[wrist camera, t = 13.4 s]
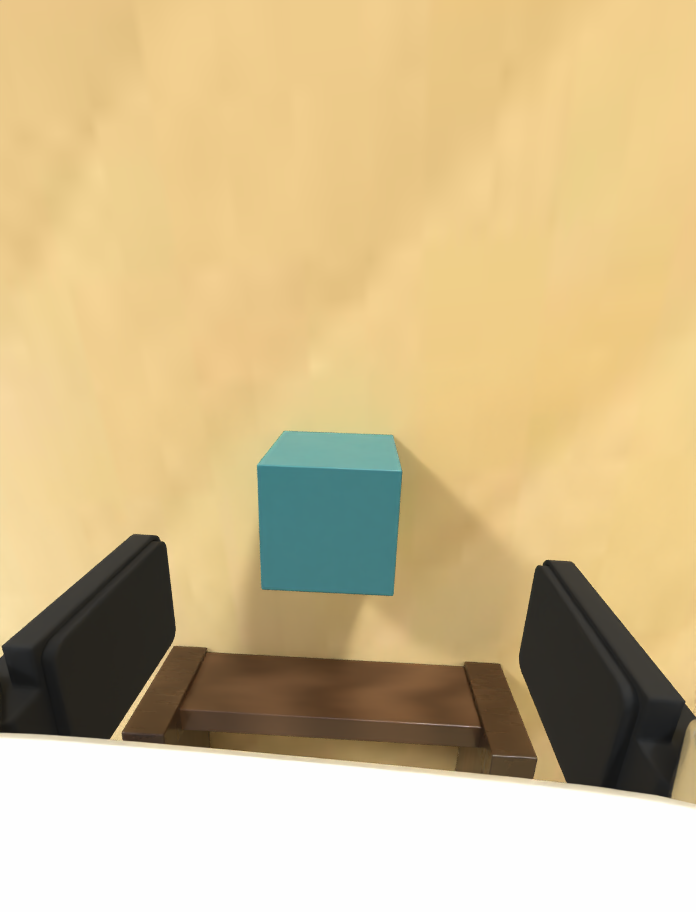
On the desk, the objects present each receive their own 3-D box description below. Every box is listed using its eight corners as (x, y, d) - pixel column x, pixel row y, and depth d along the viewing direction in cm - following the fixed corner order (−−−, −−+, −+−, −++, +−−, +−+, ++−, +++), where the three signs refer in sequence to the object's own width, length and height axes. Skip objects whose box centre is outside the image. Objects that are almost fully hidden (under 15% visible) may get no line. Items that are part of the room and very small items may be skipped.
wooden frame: (500, 663, 22) (537, 758, 17) (463, 881, 27) (485, 1003, 22) (173, 645, 22) (120, 733, 17) (197, 862, 27) (161, 977, 22)
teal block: (393, 434, 18) (402, 470, 14) (386, 534, 20) (393, 596, 15) (283, 430, 18) (256, 464, 14) (285, 529, 20) (261, 590, 15)
